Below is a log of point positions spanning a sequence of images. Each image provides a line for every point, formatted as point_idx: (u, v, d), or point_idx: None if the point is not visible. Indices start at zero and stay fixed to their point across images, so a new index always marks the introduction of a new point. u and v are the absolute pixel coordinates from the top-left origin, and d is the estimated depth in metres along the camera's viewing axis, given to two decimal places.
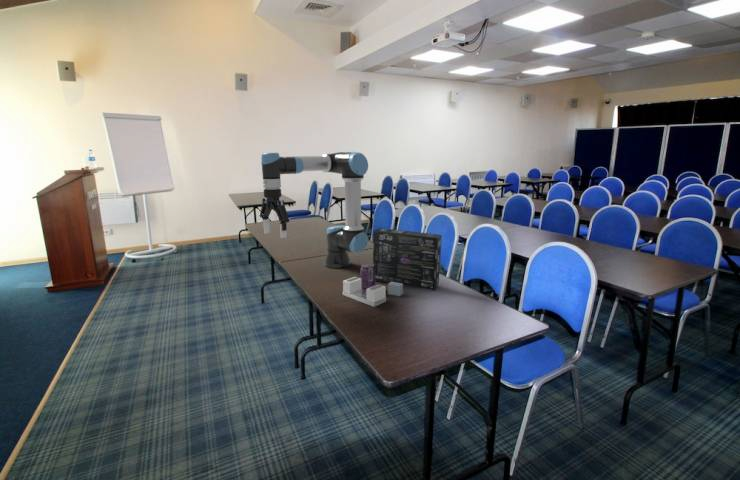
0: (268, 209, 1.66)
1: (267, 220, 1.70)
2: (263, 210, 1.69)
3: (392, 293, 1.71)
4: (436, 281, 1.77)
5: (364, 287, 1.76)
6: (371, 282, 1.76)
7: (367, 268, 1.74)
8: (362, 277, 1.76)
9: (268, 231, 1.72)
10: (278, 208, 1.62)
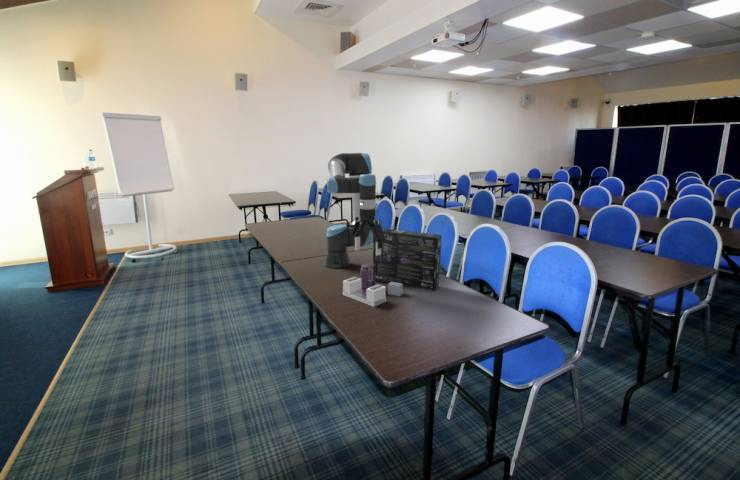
0: (361, 227, 1.74)
1: (358, 237, 1.78)
2: (355, 228, 1.77)
3: (392, 293, 1.71)
4: (436, 281, 1.77)
5: (364, 287, 1.76)
6: (371, 282, 1.76)
7: (367, 268, 1.74)
8: (362, 277, 1.76)
9: (359, 248, 1.79)
10: (373, 227, 1.70)
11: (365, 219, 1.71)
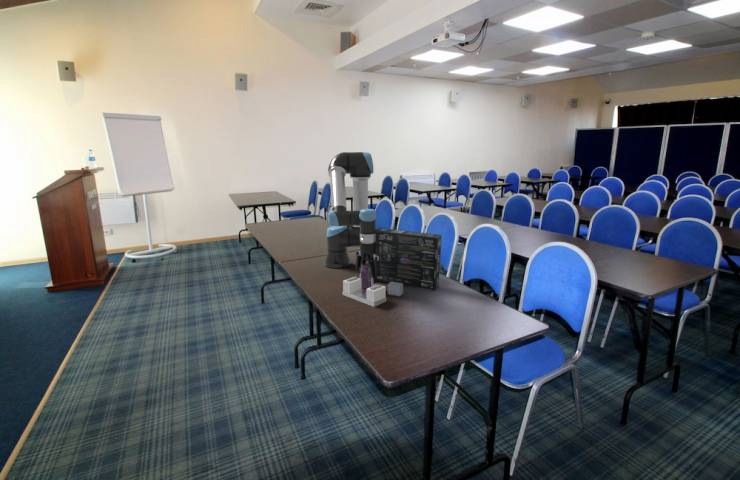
0: (363, 261, 1.77)
1: None
2: (358, 263, 1.80)
3: (392, 293, 1.71)
4: (436, 281, 1.77)
5: (364, 287, 1.76)
6: None
7: (367, 268, 1.74)
8: (362, 277, 1.76)
9: None
10: (372, 261, 1.74)
11: (365, 252, 1.75)
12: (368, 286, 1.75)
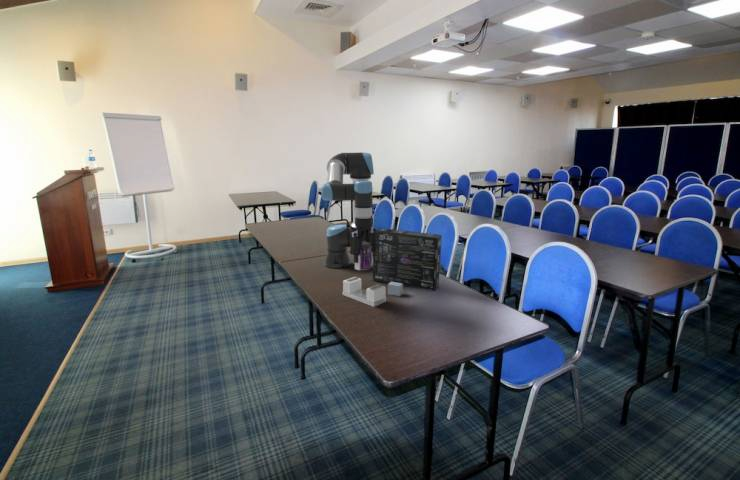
0: (365, 238, 1.63)
1: None
2: (371, 240, 1.66)
3: (392, 293, 1.71)
4: (436, 281, 1.77)
5: None
6: None
7: None
8: None
9: None
10: (359, 238, 1.59)
11: None
12: None
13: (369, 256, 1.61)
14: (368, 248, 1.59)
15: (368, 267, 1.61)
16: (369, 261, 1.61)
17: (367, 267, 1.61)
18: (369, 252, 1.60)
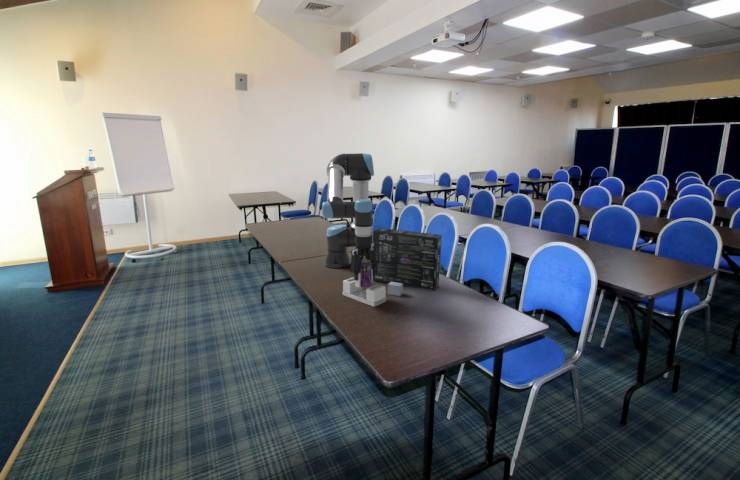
0: (365, 256, 1.65)
1: None
2: (371, 257, 1.68)
3: (392, 293, 1.71)
4: (436, 281, 1.77)
5: None
6: None
7: None
8: None
9: None
10: (359, 256, 1.61)
11: None
12: None
13: (369, 274, 1.62)
14: (368, 266, 1.61)
15: (368, 284, 1.63)
16: (369, 278, 1.63)
17: (367, 284, 1.63)
18: (369, 269, 1.62)
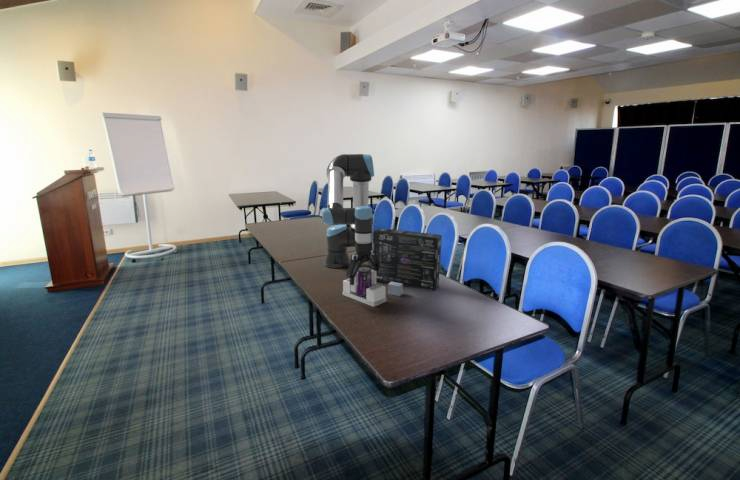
0: (367, 261, 1.66)
1: (373, 271, 1.69)
2: (373, 261, 1.70)
3: (392, 293, 1.71)
4: (436, 281, 1.77)
5: None
6: (356, 287, 1.65)
7: None
8: None
9: (373, 282, 1.70)
10: (358, 262, 1.61)
11: None
12: (356, 289, 1.66)
13: (369, 282, 1.63)
14: (368, 274, 1.62)
15: None
16: (369, 287, 1.64)
17: None
18: (369, 278, 1.63)
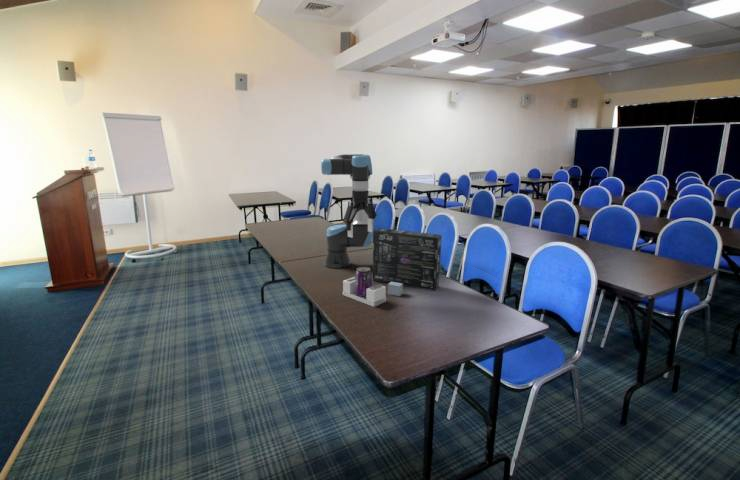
0: (364, 209, 1.75)
1: (370, 220, 1.78)
2: (370, 209, 1.78)
3: (392, 293, 1.71)
4: (436, 281, 1.77)
5: None
6: (356, 287, 1.65)
7: None
8: None
9: (370, 230, 1.79)
10: (354, 209, 1.69)
11: None
12: (356, 289, 1.66)
13: (369, 282, 1.63)
14: (368, 274, 1.62)
15: None
16: (369, 287, 1.64)
17: None
18: (369, 278, 1.63)
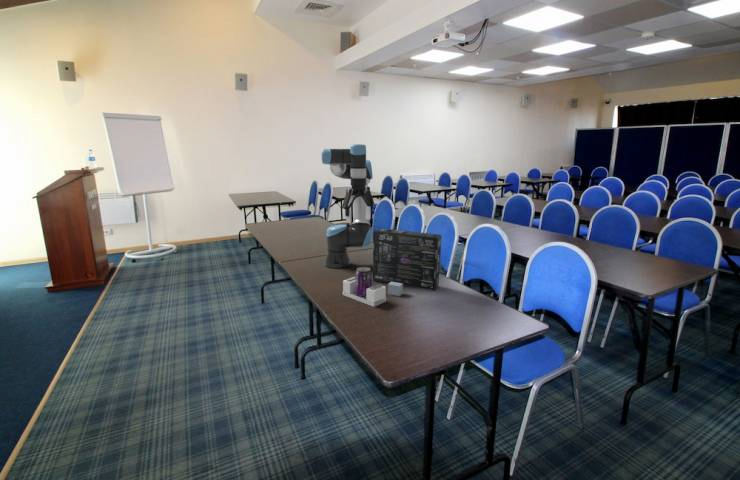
0: (362, 196, 1.81)
1: (368, 207, 1.84)
2: (368, 197, 1.85)
3: (392, 293, 1.71)
4: (436, 281, 1.77)
5: None
6: (356, 287, 1.65)
7: None
8: None
9: (368, 217, 1.85)
10: (353, 195, 1.76)
11: None
12: (356, 289, 1.66)
13: (369, 282, 1.63)
14: (368, 274, 1.62)
15: None
16: (369, 287, 1.64)
17: None
18: (369, 278, 1.63)
